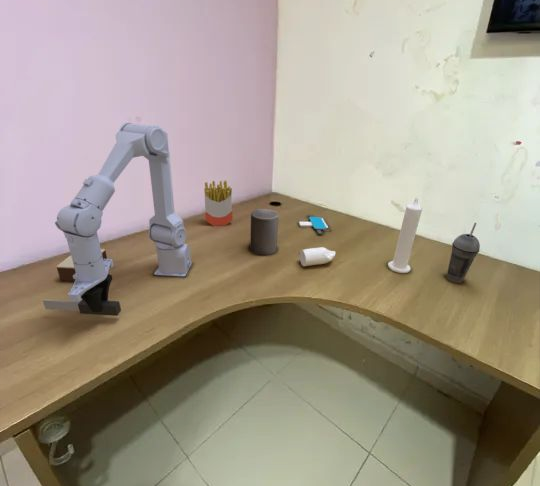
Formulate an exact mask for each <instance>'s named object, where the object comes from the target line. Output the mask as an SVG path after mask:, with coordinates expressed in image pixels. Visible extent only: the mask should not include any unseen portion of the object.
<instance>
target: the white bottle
mask: <svg viewBox="0 0 540 486" xmlns="http://www.w3.org/2000/svg"><path fill="white" fill-rule="evenodd" d="M298 255H299V262H300V264H301V266H302V267H309V266H317V265H323V264H324V265H325V264H328V263H329V262H331V261H332V260H333V259H334V258H335V256H336V251H334V250H330V249H328V248H326V247H324V246H321V247H311V248H310V247H309V248H305V249H301V250H299V253H298Z"/></svg>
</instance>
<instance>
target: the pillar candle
mask: <svg viewBox="0 0 540 486" xmlns="http://www.w3.org/2000/svg"><path fill="white" fill-rule="evenodd" d="M279 216H280V214H279V213H278V212H277V211H276V210H273V209H270V208H258V209H254V210H253V211H251V213H250V240H249V241H250V242H249V243H250V247H249V250H250V252H252V253H253V254H256V255H259V256H269V255H273V254H274V253H276V251H277V247H278V235H279V233H278V232H279V230H278V229H279Z"/></svg>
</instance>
